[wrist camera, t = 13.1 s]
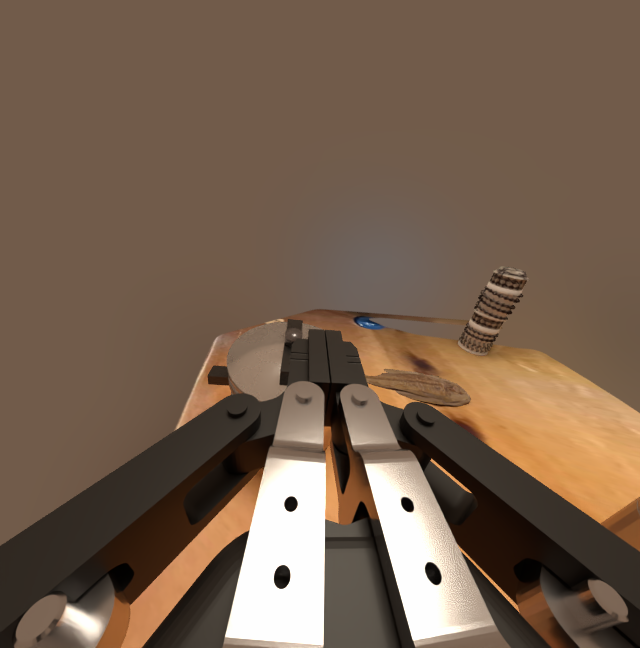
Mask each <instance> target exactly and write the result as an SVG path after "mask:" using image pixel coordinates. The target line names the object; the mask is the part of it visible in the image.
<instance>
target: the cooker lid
mask: <svg viewBox="0 0 640 648" xmlns="http://www.w3.org/2000/svg"><path fill="white" fill-rule="evenodd" d="M309 329H320V328H318V327H315V326H311V325H308V324H303V321H301V320H291V319H288V322H277V323H270V324H265V325H261V326H258V327H256V328H253V329H251V330H249V331H247V332H246V333H244V334H243V335H241V336H240V337H239V338H238V339H237V340H236V341H235V342H234V343H233V344H232V346H231V348H230V350H229V352H228V355H227V370H228V376H229V379H230V381H231V383H232V385H233V387H234V388H235V389H236V390H237V392H238V393H245V394H250V395H252V396H254V397H256V398H257V399H258V401H259V402H262V401H266V400H270V399H274V398H276V397H278V396H280V395H281V394H282V393H283V392H284V391H285V390H286V388H287V385H288V377H289V368H290V358H291V349H292V344H293V343H294V341H295V340H296V339H297V338H300V339H308V331H309ZM320 330H322V329H320ZM324 331H325V330H324Z"/></svg>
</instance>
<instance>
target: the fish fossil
mask: <svg viewBox="0 0 640 648" xmlns="http://www.w3.org/2000/svg"><path fill="white" fill-rule="evenodd" d="M384 371H386V372H388V373H382V374H381V375H378V376H366V375H365V377H366V381H367V383H369V384H372V385H375V386H378V387H382V388H386V389H391V390H395V391H396V392H397V393H399V394H400V395H403V396H406V397H408V398H410V399H415V400H419V401H423V402H428V403H433V404H440V405H455V406H462V405H464V404H467V403H469V402H470V400H471V399H470V396H469V395H468V394H467V392H466V391H465V390H464V389H463V388H462V387H460V386H459V385H458V384H456V383H453V382H451V381H449V380H446V379H442V378H439V376H433V375H424V374H422V373H417V372H408V371H400V370H392V369H384Z"/></svg>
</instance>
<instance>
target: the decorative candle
mask: <svg viewBox="0 0 640 648" xmlns="http://www.w3.org/2000/svg"><path fill="white" fill-rule="evenodd" d="M493 272H494V274H493V276H492V278H491V280H490V281H489V282H488V284H487V286H486V287H485V289H484V290H482V291H481V294H482V295H480V296H479V297H478V298H479V300H480V301H477V303H476V306H475V308H474V311H475V312H474V315H473V317H472V318H471V319H470V321H469V323H467V324H466V326H467V327H465V329H464V330H465V331H464V332H462V334H461V337H460V338H459V341H458V345H459V346H460V347H461V348H462V349H464V350H465V351H467V352H469V353H472V354H475V355H479V356H485V355H487V354H488V351H490V347H492V346H493V343H492V342H493V341H495V339H496V338H495V337H498V332H499V330H500V327H501V326H502V324H503V322H504V321H506V320H507V319H508V318H507V314H512V312H511V309H515V306H514V305H513V303H515V302H516V303H517V302H520V300H519V299H518V298H517V297H523V295H522V294H521V292H522V289H523V287H524V285H525V284H526V282H527V280H529V279H528V278H527V277H526V273H525V272H524V271H522V270H519V269H515V268H510V267H500V268H499V269H497V270H494V271H493ZM484 292H485V293H484Z"/></svg>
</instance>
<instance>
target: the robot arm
mask: <svg viewBox="0 0 640 648" xmlns="http://www.w3.org/2000/svg"><path fill="white" fill-rule="evenodd" d="M324 426H326V427H331V433H332V435H331V440H330V450H331V456H332V462H333V468H334V475H335V481H336V487H337V493H338V502H339V511H338V518H339V524H338V523H335V522H332V521H329V520H326V519H325V451H324V450H323V438H324ZM431 458H432V459H433V460H434V461H435V462H437V463H438V464H439V465H440V466H441V467H443V468H444V469H445V470H446V471H447V472H448V473H450V474H451V475H452V476H453V477H454V478H456V479H457V480H458V481H459V482H460V483H461V484H463V485H464V486H465V487H466V488H467V489H469V490H470V491H471V492H472V493H473V494H472V493H469V492H467V491H465V490H464V489H463V488H461V487H460V486H459V485H458V484H457V483H456V482H454V481H453V480H452V479H451V478H450V477H449V476H447V475H446V474H445V473H444V472H443V471H442V470H440V469H439V468H438V467H437V466H436V465H434V464H433V463H432V462H431V461H430V460H431ZM262 467H265V468H264V472H263V476H262V481H261V485H260V489H259V494H258V498H257V502H256V507H255V511H254V515H253V519H252V524H251V528H250V530H249V531H247V532H245V533H243V534H242V535H240V536H239V537H237V538H236V539H234V540H233V541H232V542H231V543H229V544H228V545H227V546H226V547H224V548H223V549H222V550H221V552H220V553H219V554H218V555H217V556H216V557H215V558H214V559H213V560H212V561H211V562H210V563H209V565H208V566H207V567H206V568H205V570H204V571H203V572H202V573H201V575H200V576H199V577H198V578H197V580H196V581H195V582H194V583H193V585H192V586H191V587H190V588H189V590H188V591H187V592H186V593H185V594H184V596H183V597H182V598H181V599H180V601H179V602H178V603H177V604H176V606H175V607H174V608H173V609H172V611H171V612H170V613H169V614H168V616H167V617H166V618H165V619H164V621H163V622H162V623H161V624H160V626H159V627H158V628H157V629H156V631H155V632H154V633H153V634H152V636H151V637H150V638H149V639H148V641H147V642H146V643H145V644H144V646H143V647H142V648H640V497H639V498H637V499H636V500H634V501H633V502H631V503H630V504H628V505H627V506H625V507H624V508H623V509H621V510H620V511H618V512H617V513H615V514H614V515H612V516H611V517H609V518H608V519H606V520H605V521H604V522H602V523H601V524H600V523H598V522H597V521H595V520H594V519H592V518H591V517H590V516H588V515H587V514H585V513H584V512H582V511H581V510H579V509H578V508H577V507H575V506H574V505H572V504H571V503H569V502H568V501H567V500H565V499H564V498H562V497H561V496H559V495H558V494H557V493H555V492H554V491H552V490H551V489H549V488H548V487H547V486H545V485H544V484H542V483H541V482H539V481H538V480H536V479H535V478H534V477H532V476H531V475H529V474H528V473H526V472H525V471H524V470H522V469H521V468H519V467H518V466H516V465H515V464H514V463H512V462H511V461H509V460H508V459H506V458H505V457H503V456H502V455H501V454H499V453H498V452H496V451H495V450H493V449H492V448H491V447H489V446H488V445H486V444H485V443H483V442H482V441H481V440H479V439H478V438H476V437H475V436H473V435H472V434H471V433H469V432H468V431H466V430H465V429H463V428H462V427H460V426H459V425H458V424H456V423H455V422H453V421H452V420H450V419H449V418H448V417H446V416H445V415H443V414H442V413H440V412H439V411H438V410H436V409H435V408H433V407H431V406H429V405H427V404H425V403H421V402H412V403H409V404H407V405H406V406H405V408H404V410H403V409H400V408H397V407H394V406H390V405H388V404H385V403H383V402H381V401H380V400H379V398H378V396H377V394H376V393H375V392H374V391H373V390H372V389H370V388H369V387H368V384H367V381H366V377H365V374H364V371H363V367H362V364H361V361H360V358H359V354H358V351H357V348H356V347H355V346H354V345H353V344H352V343H351V342H344V341H343V340H342V335H341V331H335V330H325V331H324V330H320V329H309V331H308V339H300V338H297V339H296V340H295V341H294V343H293V344H292V349H291V358H290V368H289V377H288V385H287V388H286V390H285V391H284V392H283V393H282V394H281V395H280V396H278V397H276V398H274V399H270V400H266V401H262V402H259V401H258V399H257V398H256V397H254V396H252V395H250V394H245V393H238V394H233V395H230V396H228V397H226V398H224V399H223V400H221V401H220V402H218V403H216V404H215V405H213V406H212V407H210V408H209V409H207V410H206V411H204V412H203V413H201V414H200V415H198V416H197V417H195V418H194V419H192V420H191V421H189V422H188V423H186V424H185V425H183V426H182V427H180V428H179V429H177V430H176V431H174V432H172V433H171V434H169V435H168V436H166V437H165V438H163V439H162V440H160V441H159V442H157V443H156V444H154V445H153V446H151V447H150V448H148V449H147V450H145V451H144V452H142V453H141V454H139V455H138V456H136V457H135V458H133V459H131V460H130V461H128V462H127V463H125V464H124V465H122V466H121V467H119V468H118V469H116V470H115V471H113V472H112V473H110V474H109V475H107V476H106V477H104V478H103V479H101V480H100V481H98V482H97V483H95V484H94V485H92V486H91V487H89V488H87V489H86V490H84V491H83V492H81V493H80V494H78V495H77V496H75V497H74V498H72V499H71V500H69V501H68V502H66V503H65V504H63V505H62V506H60V507H59V508H57V509H56V510H54V511H53V512H51V513H50V514H48V515H46V516H45V517H43V518H42V519H40V520H39V521H37V522H36V523H34V524H33V525H31V526H30V527H28V528H27V529H25V530H24V531H22V532H21V533H19V534H18V535H16V536H15V537H13V538H12V539H10V540H9V541H7V542H6V543H4V544H2V545H1V546H0V648H121V646H122V644H123V641H124V639H125V637H126V633H127V630H128V627H129V622H130V605H131V604H132V603H133V602H134V601H135V600H136V599H137V598H138V597H139V596H140V595H141V593H142V592H143V591H144V590H145V589H146V588H147V587H148V586H149V585H150V584H151V583H152V582H153V581H154V580H155V579H156V578H157V577H158V576H159V575H160V574H161V573H162V572H163V570H164V569H165V568H166V567H167V566H168V565H169V564H170V563H171V562H172V561H173V560H174V559H175V558H176V557H177V556H178V555H179V554H180V553H181V552H182V551H183V550H184V549H185V547H186V546H187V545H188V544H189V543H190V542H191V541H192V540H193V539H194V538H195V537H196V536H197V535H198V534H199V533H200V532H201V531H202V530H203V529H204V528H205V527H206V526H207V525H208V523H209V522H210V521H211V520H212V519H213V518H214V517H215V516H216V515H217V514H218V513H219V512H220V511H221V510H222V509H223V508H224V507H225V506H226V505H227V504H228V503H229V502H230V500H231V499H232V498H233V497H234V496H235V495H236V494H237V493H238V492H239V491H240V490H241V489H242V488H243V487H244V486H245V485H246V484H247V483H248V482H249V481H250V480H251V479H252V477H253V476H254V475H255V474H256V473H257V472H258V470H259V469H260V468H262ZM457 544H458V545H459V546H460V547H461V548H462V549H463V550H464V551H465V552H466V553H467V554H468V555H469V556H470V558H471V559H472V560H473V561H474V562H475V563H476V564H477V565H478V566H479V567H480V568H481V569H482V570H483V571H484V572H485V573H486V574H487V575H488V576H489V577H490V578H491V579H492V580H493V581H494V582H495V583H496V584H497V585H498V586H499V587H500V588H501V589H502V590H503V591H504V592H505V593H506V594H507V595H508V596H509V597H510V598H511V599H512V600H513V601H514V602H515V603H516V604H517V605H518V608H519V611H520V613H519V612H518V611H517V610H516V609H515V608H514V607H513V606H512V605H511V604H510V602H509V601H508V600H507V599H506V598H505V597H504V596H503V595H502V594H501V593H500V592H499V591H498V590H497V589H496V588H495V586H494V585H493V584H492V583H491V582H490V581H489V580H488V579H487V578H486V577H485V576H484V575H483V574H482V573H481V572H480V570H479V569H478V568H477V567H476V566H475V565H474V564H473V563H472V562H471V561H470V560H469V559H468V558H467V557H466V556H465V555H464V554H463V553H462V552H461V551H460V549H459V547H458V545H457Z"/></svg>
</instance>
